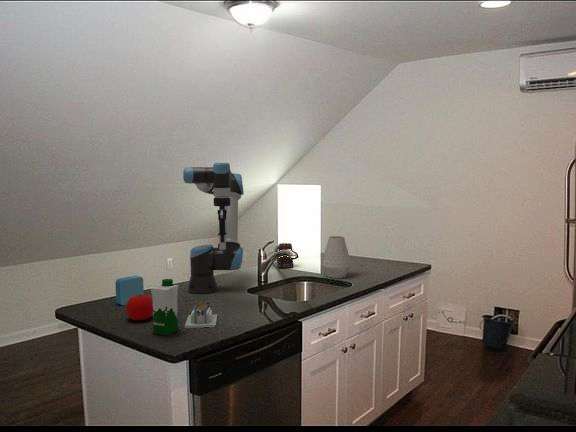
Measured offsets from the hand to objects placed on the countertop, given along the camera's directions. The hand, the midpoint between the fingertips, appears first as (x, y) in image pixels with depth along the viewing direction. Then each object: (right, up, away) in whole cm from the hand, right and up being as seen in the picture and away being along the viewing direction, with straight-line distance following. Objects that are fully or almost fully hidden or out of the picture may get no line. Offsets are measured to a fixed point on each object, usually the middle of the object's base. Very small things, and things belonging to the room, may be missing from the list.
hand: (222, 249), depth 222 cm
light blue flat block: (-45, -26, +9) cm, 52 cm away
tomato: (-32, -28, -16) cm, 46 cm away
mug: (+26, -18, +88) cm, 94 cm away
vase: (+58, -20, +64) cm, 88 cm away
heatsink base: (-6, -29, -21) cm, 36 cm away
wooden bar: (-6, -24, -21) cm, 32 cm away
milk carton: (-18, -30, -33) cm, 48 cm away
